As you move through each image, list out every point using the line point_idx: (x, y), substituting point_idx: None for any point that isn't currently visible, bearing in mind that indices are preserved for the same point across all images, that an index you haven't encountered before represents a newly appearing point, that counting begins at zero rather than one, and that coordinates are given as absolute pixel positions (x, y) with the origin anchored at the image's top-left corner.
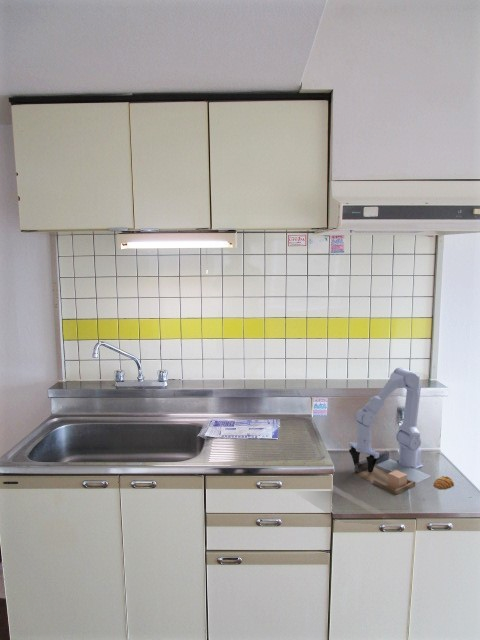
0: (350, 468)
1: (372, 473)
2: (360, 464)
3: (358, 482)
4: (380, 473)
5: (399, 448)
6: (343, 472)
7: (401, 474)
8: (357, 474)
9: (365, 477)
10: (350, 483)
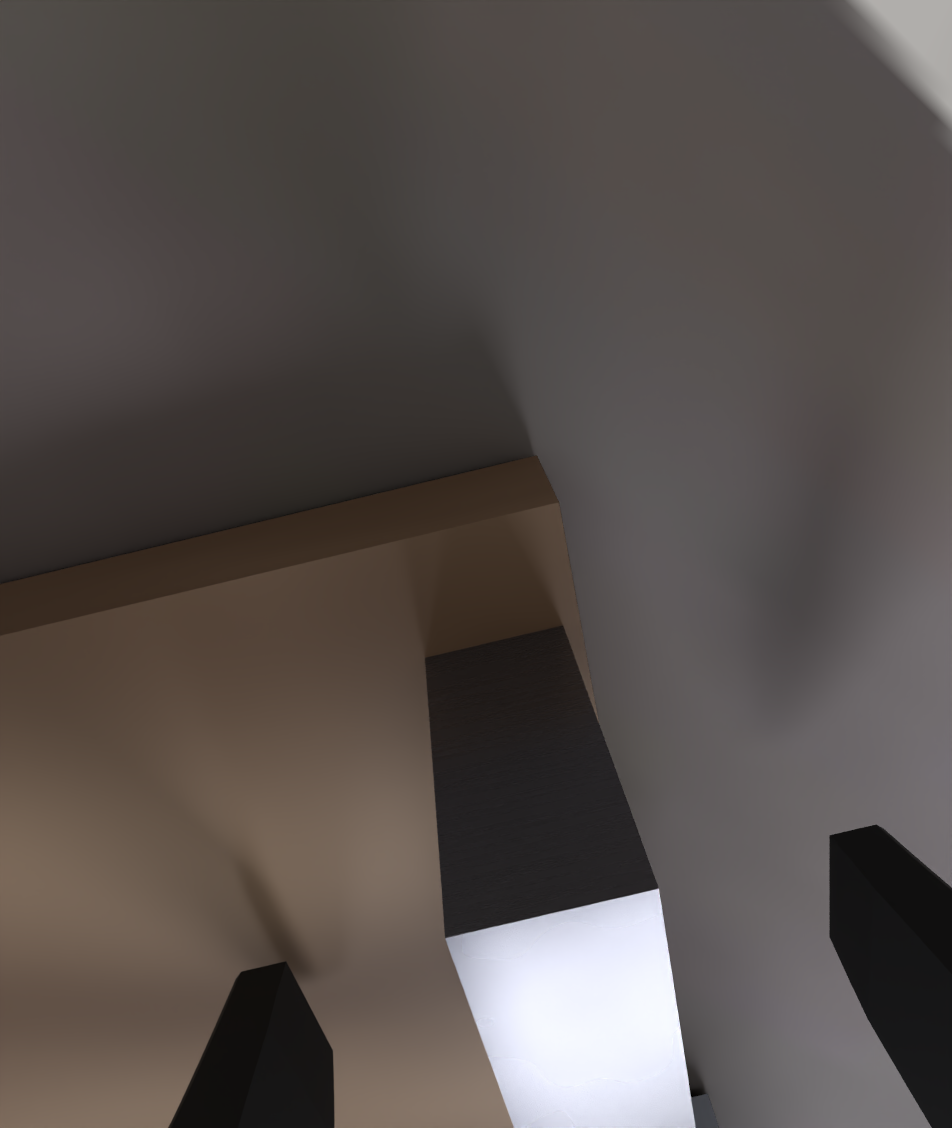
0: (938, 680)
1: None
2: (488, 1055)
3: (45, 400)
4: None
5: None
6: (899, 341)
7: None
8: (356, 612)
9: (53, 733)
10: (15, 16)
